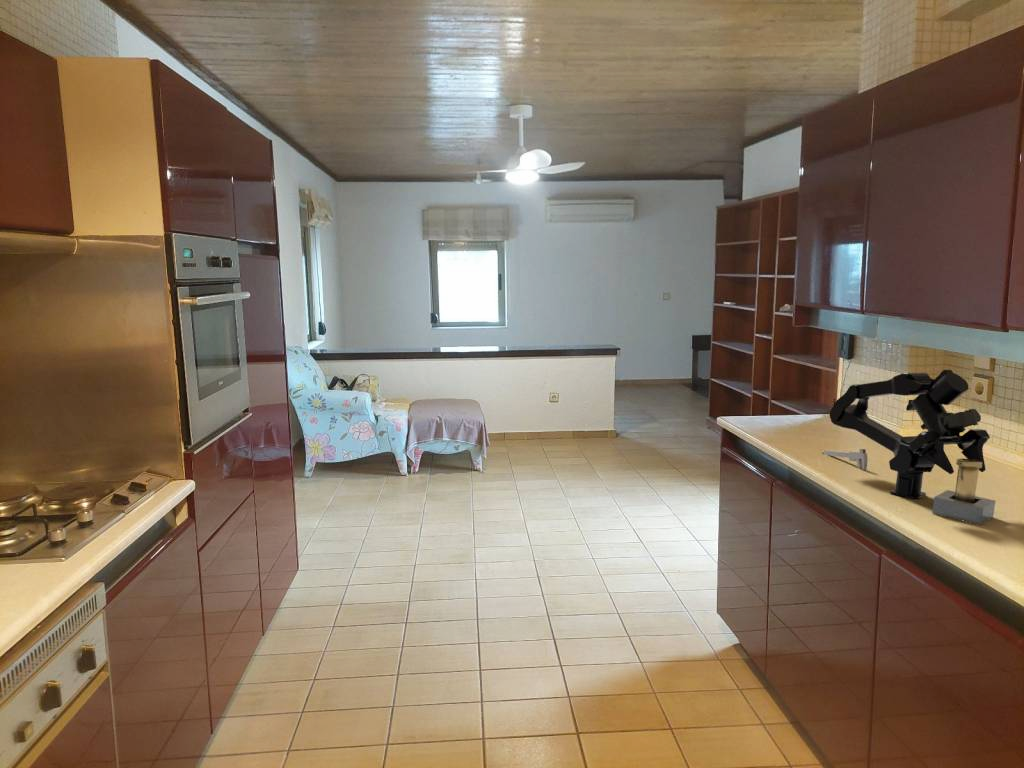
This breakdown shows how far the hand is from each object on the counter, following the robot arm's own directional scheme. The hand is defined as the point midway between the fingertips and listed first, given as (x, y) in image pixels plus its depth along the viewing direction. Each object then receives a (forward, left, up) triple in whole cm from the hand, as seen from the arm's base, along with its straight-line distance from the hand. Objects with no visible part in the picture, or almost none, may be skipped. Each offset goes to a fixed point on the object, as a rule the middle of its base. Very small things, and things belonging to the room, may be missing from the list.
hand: (968, 472), depth 167 cm
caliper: (-27, -40, -11) cm, 49 cm away
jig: (0, 0, -10) cm, 10 cm away
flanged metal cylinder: (0, 0, -10) cm, 10 cm away
